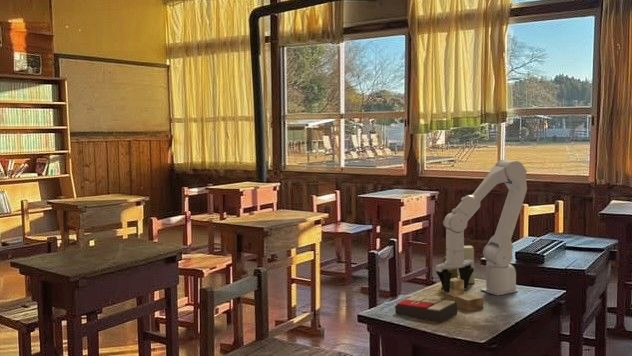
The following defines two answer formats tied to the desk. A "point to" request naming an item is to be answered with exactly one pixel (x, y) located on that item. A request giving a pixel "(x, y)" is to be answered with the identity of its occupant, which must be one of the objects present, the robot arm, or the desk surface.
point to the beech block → (456, 287)
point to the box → (469, 256)
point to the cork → (453, 271)
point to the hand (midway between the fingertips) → (455, 290)
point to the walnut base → (469, 301)
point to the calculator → (427, 308)
